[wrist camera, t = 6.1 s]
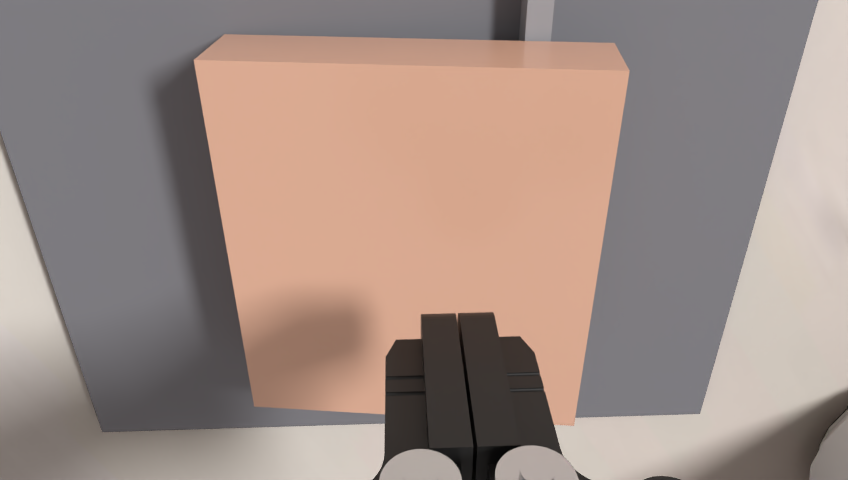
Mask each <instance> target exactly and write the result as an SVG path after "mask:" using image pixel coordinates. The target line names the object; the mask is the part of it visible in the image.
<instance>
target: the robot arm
mask: <svg viewBox="0 0 848 480" xmlns="http://www.w3.org/2000/svg"><path fill="white" fill-rule="evenodd" d="M373 480H590V479H588V478H586V477H584V476H583V475H581V474H580V473H578V472H577V471H576V470H575V469H574V467H573V466H572V465H571V463H570V462H569V461H568V460H567V459H566V458H565V457H564V456H563V454H562V452H561V449H560V446H559V442H558V438H557V435H556V431H555V427H554V423H553V420H552V416H551V412H550V408H549V405H548V401H547V397H546V393H545V391H544V386H543V382H542V378H541V376H540V371H539V367H538V363H537V360H536V356H535V353H534V351H533V350H532V349H531V348H530V347H529V346H528V345H527V344H526V342H525V341H524V340H523V339H522V338H521V337H520V336H506V337H499V334H498V330H497V325H496V320H495V315H494V313H493V312H476V313H458V317H456V313H442V314H421V339H399V340H395V342H394V344H393V345H392V347H391V349H390V350H389V352H388V354H387V355H386V361H385V455H384V461H383V465H382V467H381V469H380V471H379V472H378V474H377V475H376V477H375V478H374V479H373ZM644 480H680V479H677V478H673V477H667V476H656V477H650V478H647V479H644Z"/></svg>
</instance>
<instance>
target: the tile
mask: <svg viewBox="0 0 848 480" xmlns="http://www.w3.org/2000/svg"><path fill="white" fill-rule="evenodd" d="M194 65H195V70H196V76H197V82H198V88H199V93H200V99H201V105H202V110H203V116H204V122H205V128H206V133H207V139H208V145H209V151H210V156H211V162H212V168H213V173H214V179H215V185H216V191H217V196H218V202H219V208H220V214H221V219H222V225H223V231H224V236H225V242H226V248H227V254H228V259H229V265H230V271H231V276H232V282H233V288H234V294H235V299H236V305H237V311H238V317H239V322H240V328H241V334H242V339H243V345H244V351H245V357H246V362H247V368H248V374H249V380H250V385H251V391H252V397H253V402H254V407H269V408H286V409H303V410H319V411H336V412H353V413H370V414H385V361H386V355H387V354H388V352H389V350H390V349H391V347H392V345H393V344H394V342H395V340H399V339H421V314H442V313H456V317H458V313H476V312H493V313H494V315H495V320H496V325H497V330H498V334H499V337H506V336H520V337H521V338H522V339H523V340H524V341H525V342H526V344H527V345H528V346H529V347H530V348H531V349H532V350H533V351H534V353H535V356H536V360H537V363H538V367H539V371H540V376H541V378H542V382H543V386H544V391H545V393H546V397H547V401H548V405H549V408H550V412H551V416H552V420H553V423H554V425H571V426H574V422H575V415H576V409H577V403H578V396H579V390H580V384H581V377H582V371H583V364H584V358H585V352H586V345H587V339H588V333H589V326H590V320H591V314H592V307H593V301H594V294H595V288H596V282H597V275H598V269H599V263H600V256H601V250H602V244H603V237H604V231H605V225H606V218H607V212H608V205H609V199H610V193H611V186H612V180H613V174H614V167H615V161H616V155H617V148H618V142H619V136H620V129H621V123H622V116H623V110H624V104H625V97H626V91H627V85H628V78H629V72H630V71H629V69H628V67H627V65H626V63H625V61H624V59H623V58H622V56H621V54H620V52H619V50H618V48H617V46H616V45H615V43H596V42H551V41H507V40H462V39H417V38H373V37H328V36H283V35H238V34H224V35H223V36H222V37H221V38H219V39H218V40H217V41H216V42H215V43H213V44H212V45H211V46H210V47H209V48H207V49H206V50H205V51H204V52H203V53H201V54H200V55H199V56H198V57H197V58H195V59H194Z"/></svg>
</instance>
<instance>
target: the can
mask: <svg viewBox="0 0 848 480" xmlns="http://www.w3.org/2000/svg"><path fill="white" fill-rule="evenodd" d="M809 480H848V409H847V410H846V411H845V412H844V413H843V414H842V415H841V416H840V417H839V418H838V419H837V420H836V421H835V422H834V423H833V424H832V425H831V426H830V427H829V429H828V431H827V433H826V435H825V436H824V438H823V440H822V442H821V444H820V447H819V451H818V453H817V455H816V457H815V459H814V460H813V462H812V464H811V466H810V476H809Z"/></svg>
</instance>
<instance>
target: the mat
mask: <svg viewBox="0 0 848 480" xmlns="http://www.w3.org/2000/svg"><path fill="white" fill-rule="evenodd" d="M817 2H818V0H0V132H1V135H2V138H3V141H4V144H5V147H6V150H7V153H8V156H9V159H10V162H11V164H12V167H13V170H14V173H15V176H16V179H17V182H18V185H19V188H20V191H21V194H22V197H23V200H24V203H25V206H26V209H27V212H28V215H29V217H30V220H31V223H32V226H33V229H34V232H35V235H36V238H37V241H38V244H39V247H40V250H41V253H42V256H43V259H44V262H45V265H46V267H47V270H48V273H49V276H50V279H51V282H52V285H53V288H54V291H55V294H56V297H57V300H58V303H59V306H60V309H61V312H62V315H63V318H64V320H65V323H66V326H67V329H68V332H69V335H70V338H71V341H72V344H73V347H74V350H75V353H76V356H77V359H78V362H79V365H80V368H81V370H82V373H83V376H84V379H85V382H86V385H87V388H88V391H89V394H90V397H91V400H92V403H93V406H94V409H95V412H96V415H97V418H98V421H99V423H100V426H101V429H102V432H120V431H153V430H186V429H219V428H251V427H284V426H317V425H350V424H383V423H385V414H370V413H353V412H336V411H319V410H303V409H286V408H269V407H254V402H253V397H252V391H251V385H250V380H249V374H248V368H247V362H246V357H245V351H244V345H243V339H242V334H241V328H240V322H239V317H238V311H237V305H236V299H235V294H234V288H233V282H232V276H231V271H230V265H229V259H228V254H227V248H226V242H225V236H224V231H223V225H222V219H221V214H220V208H219V202H218V196H217V191H216V185H215V179H214V173H213V168H212V162H211V156H210V151H209V145H208V139H207V133H206V128H205V122H204V116H203V110H202V105H201V99H200V93H199V88H198V82H197V76H196V70H195V65H194V59H195V58H197V57H198V56H199V55H200V54H201V53H203V52H204V51H205V50H206V49H207V48H209V47H210V46H211V45H212V44H213V43H215V42H216V41H217V40H218V39H219V38H221V37H222V36H223V35H224V34H238V35H283V36H328V37H373V38H417V39H462V40H507V41H551V42H596V43H615V45H616V46H617V48H618V50H619V52H620V54H621V56H622V58H623V59H624V61H625V63H626V65H627V67H628V69H629V71H630V72H629V78H628V85H627V91H626V97H625V104H624V110H623V116H622V123H621V129H620V136H619V142H618V148H617V155H616V161H615V167H614V174H613V180H612V186H611V193H610V199H609V205H608V212H607V218H606V225H605V231H604V237H603V244H602V250H601V256H600V263H599V269H598V275H597V282H596V288H595V294H594V301H593V307H592V314H591V320H590V326H589V333H588V339H587V345H586V352H585V358H584V364H583V371H582V377H581V384H580V390H579V396H578V403H577V409H576V415H575V418H579V417H612V416H645V415H678V414H700V412H701V408H702V405H703V401H704V398H705V394H706V391H707V387H708V384H709V380H710V377H711V373H712V370H713V366H714V363H715V359H716V356H717V352H718V349H719V345H720V342H721V338H722V335H723V331H724V328H725V324H726V321H727V317H728V314H729V310H730V307H731V303H732V300H733V296H734V293H735V289H736V286H737V282H738V279H739V275H740V272H741V268H742V265H743V261H744V258H745V254H746V251H747V247H748V244H749V240H750V237H751V233H752V230H753V226H754V223H755V219H756V216H757V212H758V209H759V205H760V202H761V198H762V195H763V191H764V188H765V184H766V181H767V177H768V174H769V170H770V167H771V163H772V160H773V156H774V153H775V149H776V146H777V142H778V139H779V135H780V132H781V128H782V125H783V121H784V118H785V114H786V111H787V107H788V104H789V100H790V97H791V93H792V90H793V86H794V83H795V79H796V76H797V72H798V69H799V65H800V62H801V58H802V55H803V51H804V48H805V44H806V41H807V37H808V34H809V30H810V27H811V23H812V20H813V16H814V13H815V9H816V6H817Z"/></svg>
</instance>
